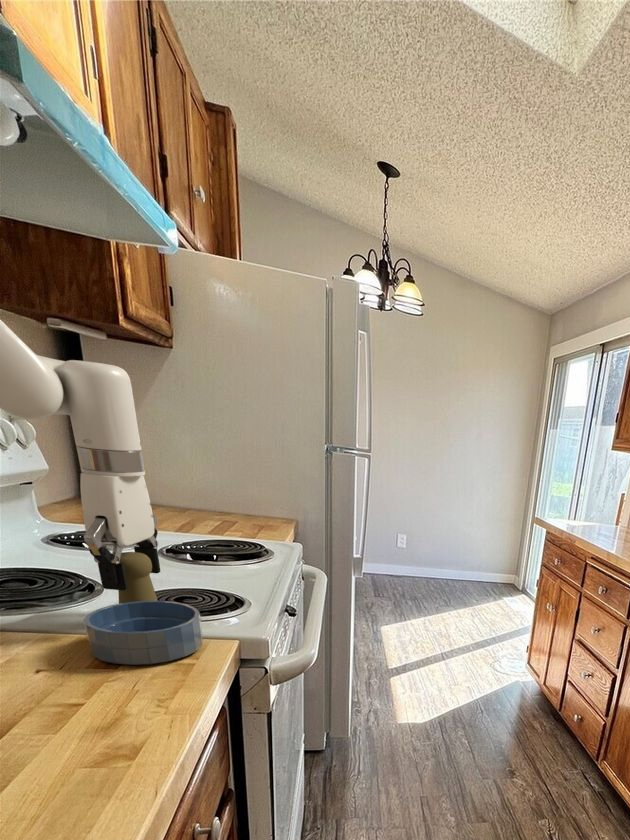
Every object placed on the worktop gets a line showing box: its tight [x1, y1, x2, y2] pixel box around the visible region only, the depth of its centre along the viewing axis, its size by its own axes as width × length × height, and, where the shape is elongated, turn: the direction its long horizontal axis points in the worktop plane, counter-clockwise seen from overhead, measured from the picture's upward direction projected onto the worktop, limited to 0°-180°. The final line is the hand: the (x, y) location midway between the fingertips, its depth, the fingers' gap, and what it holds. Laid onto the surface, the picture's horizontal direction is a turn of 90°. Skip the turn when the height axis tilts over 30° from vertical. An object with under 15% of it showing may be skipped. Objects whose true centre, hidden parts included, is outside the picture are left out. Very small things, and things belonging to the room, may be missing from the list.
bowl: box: [83, 600, 204, 666], centre depth 79 cm, size 14×14×5 cm
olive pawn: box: [117, 551, 159, 604], centre depth 86 cm, size 6×6×11 cm
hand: (133, 580), depth 85 cm, fingers open, 9 cm apart
